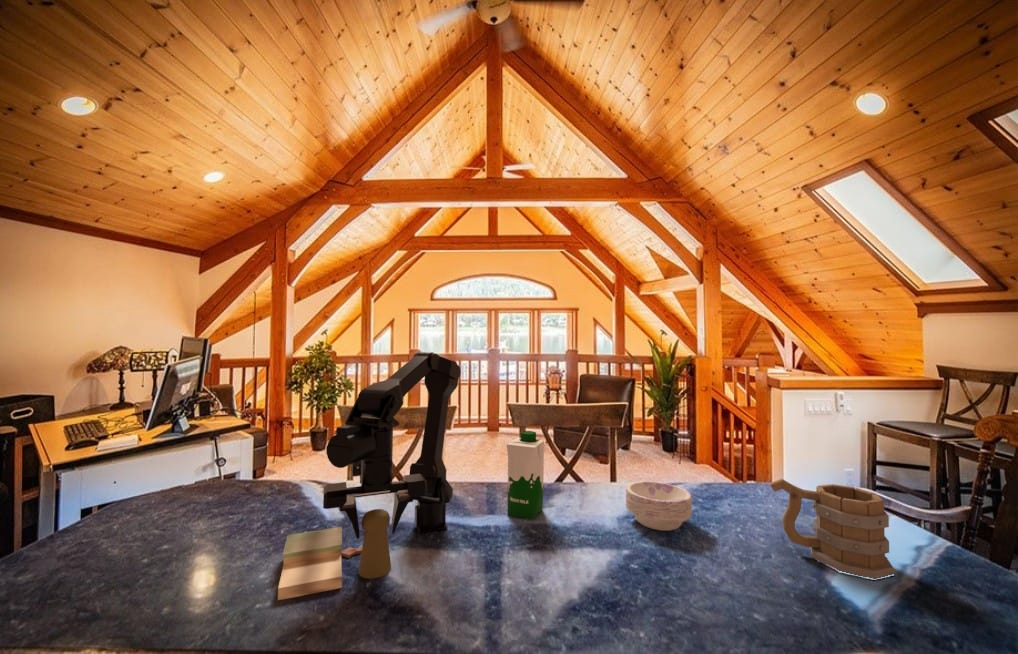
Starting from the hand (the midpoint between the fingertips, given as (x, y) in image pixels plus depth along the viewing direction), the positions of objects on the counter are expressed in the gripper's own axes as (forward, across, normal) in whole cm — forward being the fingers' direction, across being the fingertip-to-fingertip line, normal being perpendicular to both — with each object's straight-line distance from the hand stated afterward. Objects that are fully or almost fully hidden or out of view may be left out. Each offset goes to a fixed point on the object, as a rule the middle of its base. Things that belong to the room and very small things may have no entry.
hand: (375, 535), depth 81 cm
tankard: (+7, -87, +29) cm, 92 cm away
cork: (+7, 0, 0) cm, 7 cm away
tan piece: (+7, +8, -4) cm, 11 cm away
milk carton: (+7, -38, -14) cm, 41 cm away
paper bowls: (+7, -66, +3) cm, 66 cm away
